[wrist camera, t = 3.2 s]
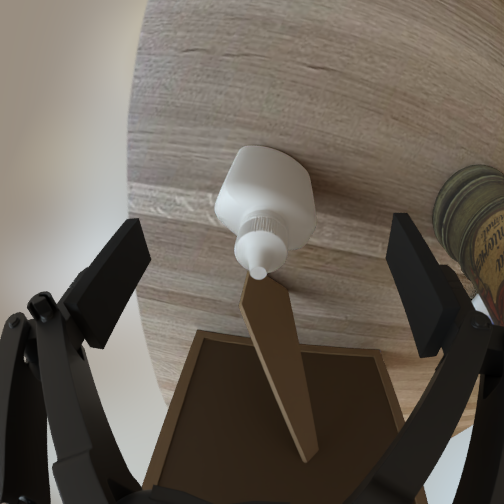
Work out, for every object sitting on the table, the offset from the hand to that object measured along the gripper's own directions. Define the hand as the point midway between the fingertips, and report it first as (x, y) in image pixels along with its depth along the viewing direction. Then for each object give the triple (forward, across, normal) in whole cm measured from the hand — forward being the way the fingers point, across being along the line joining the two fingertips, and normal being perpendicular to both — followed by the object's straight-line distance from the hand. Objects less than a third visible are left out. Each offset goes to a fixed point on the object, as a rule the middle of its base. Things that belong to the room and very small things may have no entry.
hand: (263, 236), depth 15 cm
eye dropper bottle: (+9, 0, 0) cm, 9 cm away
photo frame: (+9, +2, -17) cm, 19 cm away
